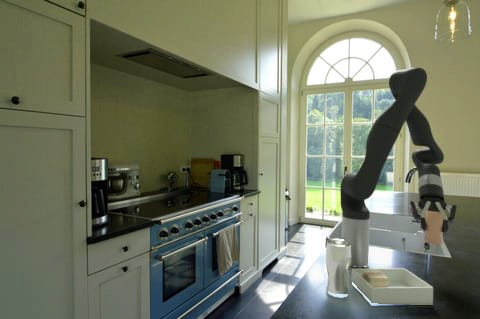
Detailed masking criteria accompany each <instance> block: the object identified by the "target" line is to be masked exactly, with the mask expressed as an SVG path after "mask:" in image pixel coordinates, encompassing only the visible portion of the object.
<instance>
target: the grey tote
mask: <svg viewBox="0 0 480 319" xmlns="http://www.w3.org/2000/svg"><path fill="white" fill-rule="evenodd" d="M362 271H380V272H381V273H383V274H384V275H385V276H386V277H388V287H376V288H373V287H372V286H371V285H370V284H369V283H368V282H367V281H366V280H365V279H364V278H363V277H362ZM352 282H353V283H354V284H355V285H356V286H357V288H358V289H359V290H360V291H361V292H362V293H363V294H364V295H365V296H366V297H367V298H368V299H369V300H370V301H371V303H378V304H410V305H434V304H433V302H434V286H432V285H431V284H428V282H426V281H424V280H422V279H421V278H420V277H418V276H417V275H416V274H414V273H413V272H411V271H410V270H408V269H406V268H403V267H401V268H399V267H397V268H392V267H391V268H389V267H388V268H387V267H386V268H380V267H379V268H351V283H352Z"/></svg>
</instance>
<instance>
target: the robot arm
mask: <svg viewBox="0 0 480 319" xmlns="http://www.w3.org/2000/svg"><path fill="white" fill-rule="evenodd" d="M427 74H428V73H427V72H426V70H425V69H424V68H422V67H411V68H404V69H400V70H396V71H394V72H393V73H392V74H391V75H390V77H389V79H388V88H389V90H390V92H391V94H392V97H393V98H394V102H393V103H392V104H391V105H390V106H389V107H388V108H387V109H386V110H384V112H382V113H381V114H380V115H379V116H378V117H377V118H376V119H375V121H374V123H373V125H372V126H371V128H370V130H369V132H368V134H367V138H366V143H365V144H366V145H365V156H364V159H363V162H362V164H361V166H360V168H359V170H358V171H357V172H349V173H347V174H345V175H344V176H343V178H342V179H341V182H340V207H341V211H342V212H341V213H342V218H341V219H342V220H341V222H342V224H341V225H342V226H341V227H342V228H341V240H345V241H348V242H350V243H351V266H356V267H364V266H367V265H368V266H369V251H370V250H369V248H370V217H371V216H370V214H371V213H370V212H371V211H370V210H369V208H368V207H367V205H366V202H365V201H366V200H368V199H369V198H371V196H372V195H373V194H374V192H375V191H376V188H377V186H378V182H379V179H380V177H381V174H382V171H383V168H384V166H385V164H386V162H387V159H388V158H389V155H390V153H391V151H392V149H393V148H394V145H395V144H396V142H397V139H398V137H399V135H400V133H401V130H402V129H403V126H404V124H405V123H406V125H407V129H408V132H409V136H410V138H411V139H410V140H411V142H412V144H413V145H414V146H417V147H425V148H418V149H415V150H414V151H413V152H412V153H411V160H412V163H413V164H414V166H415V167H416V170H417V171H416V172H417V175H418V176H417V177H418V178H417V179H418V184H417V185H418V187H417V191H418V201H417V202H415V201H411V200H410V202H409V209H410V212H411V215H412V217H413V220H418V221H419V224H420V225H419V226H420V229H421V230H422V231H423V232H425V231H426V220H425V211H426V210H432V211H440V212H443V213H444V215H443V234H446V233H448V231H449V224H453V223H454V220H455V217H456V212H457V208H458V207H457V205H455V204H453V205H449V204H447V202H446V201H445V194H444V185H443V181H442V177H441V171H440V170H441V169H440V167H439V166H437V165H440V164H442V163H443V162H444V159H445V155H444V153H443V150H442V149H441V147H440V146H439V145H438V143H437V142H436V140H435V138H434V137H433V136H434V135H433V132H432V128H431V125H430V123H429V120H428V118H427V117H426V115H425V114H424V113H423V112H422V111H421V110H420V109H419V108H418V107H417V105H416V102H417V101H418V100H419V98H420V96H421V94H422V93H423V91H424V89H425V87H426V85H427V81H428V75H427ZM418 207H419V208H420V209H421V210H422V212H421V214H419V211H418ZM445 210H447V212H448V213H449V216H447V215H446V212H445ZM368 266H367V267H368Z"/></svg>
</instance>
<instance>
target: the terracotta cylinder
mask: <svg viewBox="0 0 480 319" xmlns="http://www.w3.org/2000/svg"><path fill="white" fill-rule="evenodd" d="M443 215H444V213H443V212H440V211H432V210H426V211H425V220H426V231H423V232H424V234H423V235H424V236H423V241H424V242H425V243H428V244H432V245H442V244H443V236H444V235H443V234H444V233H443Z"/></svg>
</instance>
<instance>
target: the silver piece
mask: <svg viewBox="0 0 480 319" xmlns="http://www.w3.org/2000/svg"><path fill="white" fill-rule="evenodd" d="M325 264H326V271H327V282H328V283H327V286H326V291H327V290H328V291H329V292H331V293H334V294H347V293H348V294H349V289H348V288H349V287H348V281H349V280H348V279H349V276H350V271H351V270H350V269H351V267H350V266H351V243H350V242H348V241H345V240H342V239H340V238H333V239H332V238H331V239H328V240H327V241H326V249H325Z"/></svg>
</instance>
